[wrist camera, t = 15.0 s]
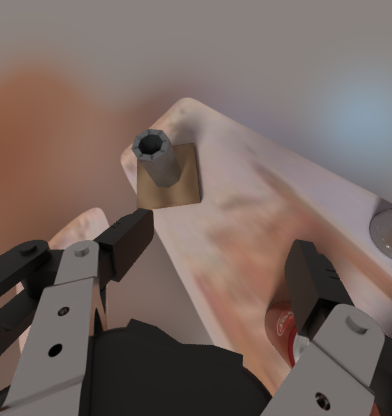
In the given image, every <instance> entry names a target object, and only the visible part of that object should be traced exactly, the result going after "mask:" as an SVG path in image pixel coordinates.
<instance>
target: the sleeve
mask: <svg viewBox="0 0 392 416" xmlns="http://www.w3.org/2000/svg"><path fill="white" fill-rule="evenodd" d="M131 149H132V151H133V152H134V154H135V155H136V157H137V158H138V160H139V161H140V163H141V164H142V166H143V167H144V169H145V170H146V171H147V173H148V174H149V176H150V177H151V179H152V180H153V181H154V183H155V184H156V186H157V187H164V188H169V187H171V186H172V185H174V184H176V183H177V182H178V181H179V177H180V174H181V170H180V167H179V164H178V162H177V159H176V156H175V153H174V151H173V148H172V145H171V142H170V140H169V138H168V137H167V136H166V135H165V133H164V132H163V131H162V130H153V129H148V130H146V131H145V132H143V133H141V134H139V135H138V136H136V138H135V140H134V143H133V146H132V148H131Z"/></svg>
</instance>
